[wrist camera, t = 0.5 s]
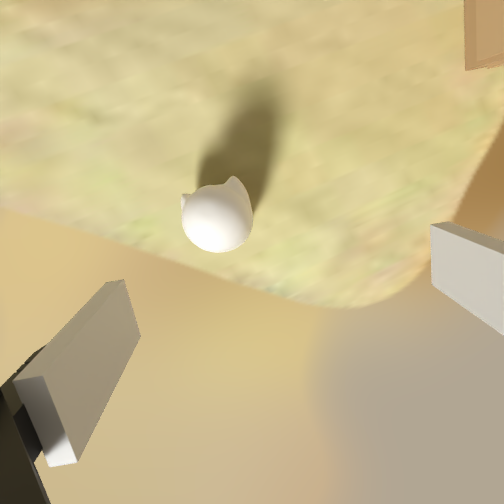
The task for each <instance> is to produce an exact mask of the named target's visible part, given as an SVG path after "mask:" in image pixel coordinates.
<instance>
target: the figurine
mask: <svg viewBox="0 0 504 504" xmlns="http://www.w3.org/2000/svg"><path fill="white" fill-rule="evenodd" d="M181 208H182V225H183V228H184V231H185V233H186V235H187V236H188V238H189V239H190V240H191V241H192V242H193V243H194V244H195V245H197V246H198V247H200V248H202V249H204V250H206V251H210V252H227V251H231V250H233V249H235V248H237V247H239V246H240V245H241V244H243V243H244V242H245V240H246V239H247V238H248V236H249V234H250V232H251V229H252V225H253V213H252V208H251V203H250V199H249V195H248V193H247V190H246V188H245V187H244V185H243V184H242V182H241V181H240V180H239V179H238V178H237V177H235V176H231V177H230V178H229V179H228V180H227V181H226V182H225V183H224V184H218V185H207V186H203V187H201V188H199V189H197V190H196V191H195V192H194V193H192V194H182V196H181Z"/></svg>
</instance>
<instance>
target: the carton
mask: <svg viewBox="0 0 504 504" xmlns="http://www.w3.org/2000/svg"><path fill="white" fill-rule="evenodd" d="M464 22H465V70H466V71H468V70H473V69H478V68H483V67H487V69H489V68H494V67H499V66H504V0H464Z"/></svg>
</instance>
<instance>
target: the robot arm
mask: <svg viewBox="0 0 504 504" xmlns="http://www.w3.org/2000/svg"><path fill="white" fill-rule="evenodd" d="M430 236H431V270H432V285H433V286H434V287H436V288H437V289H439V290H440V291H442V292H443V293H444V294H446V295H447V296H449V297H450V298H451V299H453V300H454V301H456V302H457V303H458V304H460V305H461V306H463V307H464V308H465V309H467V310H468V311H470V312H471V313H472V314H474V315H476V316H477V317H478V318H480V319H481V320H483V321H484V322H485V323H487V324H488V325H489V326H491V327H492V328H494V329H495V330H496V331H498V332H499V333H501V334H502V335H504V241H502V240H499V239H496V238H493V237H490V236H487V235H485V234H482V233H479V232H476V231H474V230H471V229H468V228H465V227H462V226H460V225H457V224H454V223H451V222H442V223H437V224H431V225H430ZM140 337H141V335H140V332H139V329H138V325H137V322H136V318H135V315H134V312H133V308H132V305H131V302H130V299H129V295H128V292H127V288H126V285H125V281H124V279H123V280H118V281H111V282H106V283H105V284H104V285H103V286H102V287H101V288H100V290H99V291H98V292H97V293H96V294H95V295H94V296H93V297H92V298H91V299H90V300H89V301H88V302H87V303H86V304H85V305H84V306H83V307H82V308H81V309H80V310H79V311H78V313H77V314H76V315H75V316H74V317H73V318H72V319H71V320H70V321H69V322H68V323H67V324H66V325H65V326H64V327H63V328H62V329H61V330H60V331H59V332H58V333H57V335H56V336H55V337H54V338H53V339H52V340H51V341H50V342H49V343H48V344H47V345H45V346H44V347H42V348H41V349H39V350H38V351H36V352H34V353H33V354H32V355H31V356H30V357H29V358H28V359H27V360H26V361H25V364H23V365H22V366H21V367H20V368H19V369H18V370H17V372H16V373H14V374H13V375H12V376H11V377H10V378H9V379H8V380H7V381H6V382H5V383H4V384H3V385H2V386H1V387H0V504H51V503H50V501H49V498H48V496H47V494H46V491H45V488H44V486H43V484H42V481H41V479H40V476H39V474H38V472H37V469H36V467H35V465H34V462H35V460H36V458H37V457H38V455H39V454H40V452H41V451H43V453H44V455H45V458H46V460H47V462H48V465H49V467H54V466H59V465H65V464H71V463H77V462H78V461H79V459H80V457H81V455H82V452H83V451H84V449H85V447H86V445H87V442H88V441H89V438H90V437H91V434H92V433H93V430H94V428H95V427H96V425H97V423H98V421H99V419H100V416H101V415H102V413H103V411H104V409H105V406H106V405H107V403H108V401H109V398H110V397H111V395H112V393H113V391H114V389H115V387H116V384H117V383H118V381H119V378H120V377H121V375H122V373H123V371H124V369H125V367H126V365H127V362H128V361H129V359H130V357H131V355H132V353H133V351H134V348H135V347H136V345H137V343H138V340H139V339H140Z"/></svg>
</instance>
